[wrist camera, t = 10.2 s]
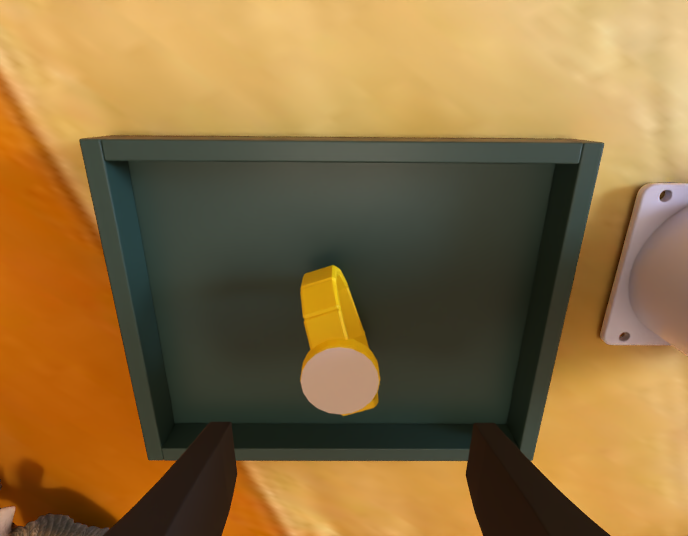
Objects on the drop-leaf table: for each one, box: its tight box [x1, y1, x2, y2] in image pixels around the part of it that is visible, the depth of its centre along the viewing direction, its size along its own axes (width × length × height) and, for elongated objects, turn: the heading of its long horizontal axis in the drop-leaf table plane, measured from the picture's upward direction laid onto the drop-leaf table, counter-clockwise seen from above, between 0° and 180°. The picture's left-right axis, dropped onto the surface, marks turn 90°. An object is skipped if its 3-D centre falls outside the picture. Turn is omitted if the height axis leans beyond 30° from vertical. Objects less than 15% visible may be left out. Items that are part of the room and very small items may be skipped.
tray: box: [80, 135, 604, 461], centre depth 19 cm, size 20×16×2 cm
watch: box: [300, 265, 380, 416], centre depth 17 cm, size 6×3×6 cm, turn 18°
